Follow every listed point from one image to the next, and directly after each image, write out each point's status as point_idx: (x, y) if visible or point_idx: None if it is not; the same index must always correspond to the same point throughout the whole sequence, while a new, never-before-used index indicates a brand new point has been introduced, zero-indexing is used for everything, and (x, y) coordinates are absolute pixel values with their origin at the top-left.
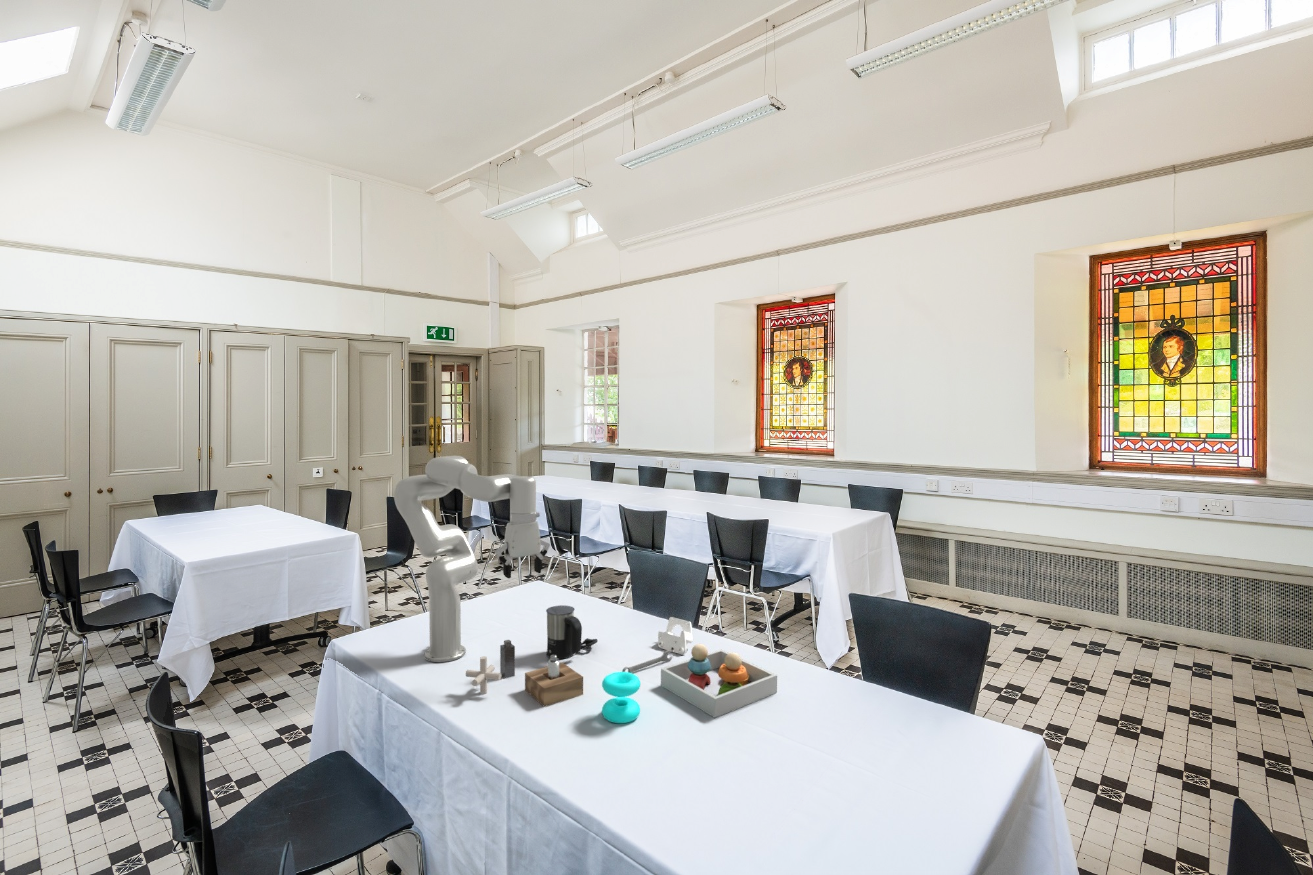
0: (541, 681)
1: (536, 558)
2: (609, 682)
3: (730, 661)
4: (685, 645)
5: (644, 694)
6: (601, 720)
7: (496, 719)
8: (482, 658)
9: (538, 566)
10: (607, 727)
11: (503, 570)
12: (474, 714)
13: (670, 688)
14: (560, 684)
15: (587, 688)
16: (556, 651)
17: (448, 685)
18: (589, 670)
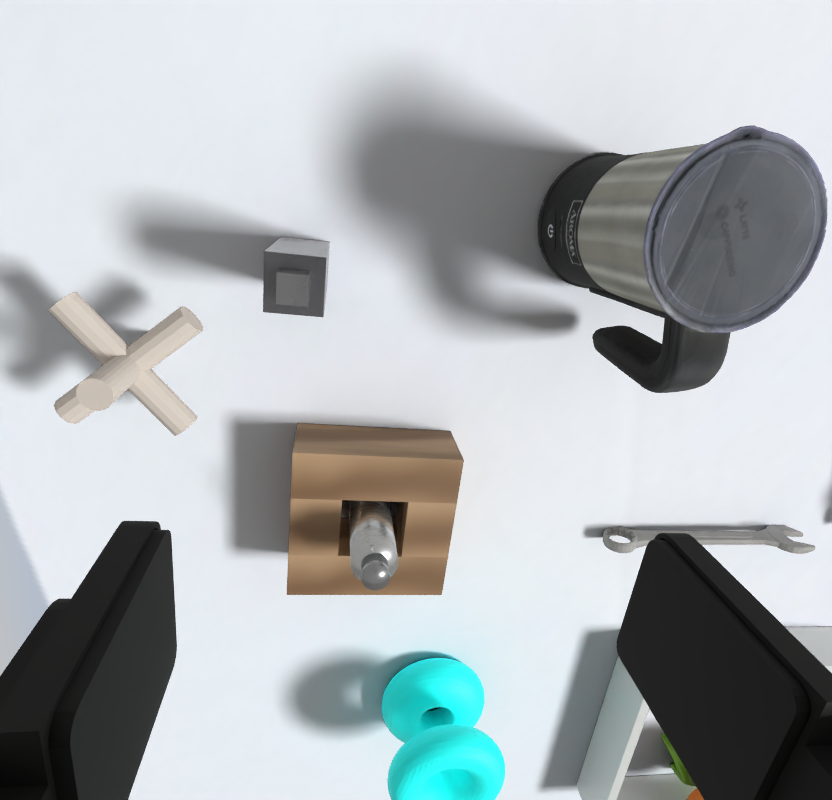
0: (306, 547)
1: (804, 778)
2: (403, 797)
3: None
4: None
5: (556, 642)
6: (376, 684)
7: None
8: (86, 400)
9: (668, 729)
10: (366, 713)
11: (23, 652)
12: (69, 471)
13: (619, 669)
14: (350, 592)
15: (467, 532)
16: (562, 265)
17: (34, 175)
18: (563, 431)
